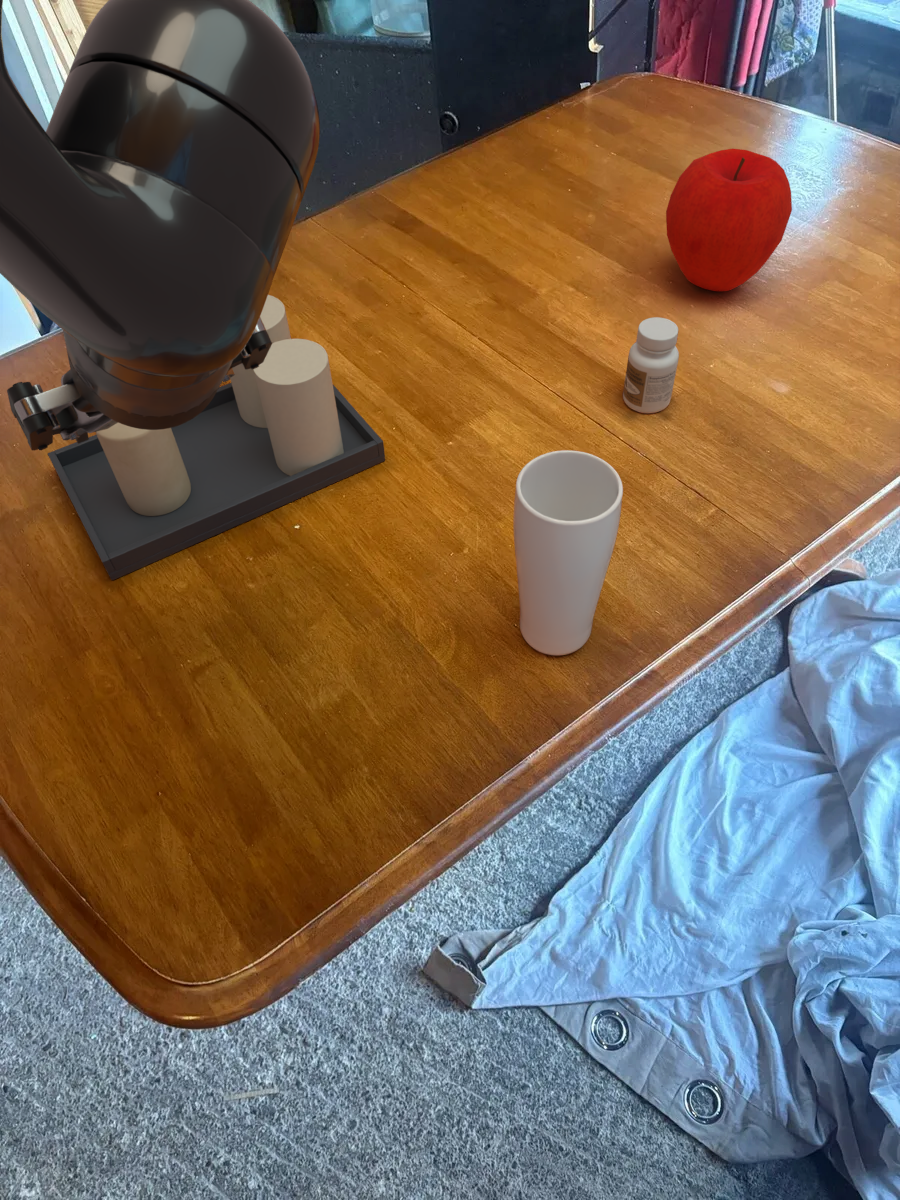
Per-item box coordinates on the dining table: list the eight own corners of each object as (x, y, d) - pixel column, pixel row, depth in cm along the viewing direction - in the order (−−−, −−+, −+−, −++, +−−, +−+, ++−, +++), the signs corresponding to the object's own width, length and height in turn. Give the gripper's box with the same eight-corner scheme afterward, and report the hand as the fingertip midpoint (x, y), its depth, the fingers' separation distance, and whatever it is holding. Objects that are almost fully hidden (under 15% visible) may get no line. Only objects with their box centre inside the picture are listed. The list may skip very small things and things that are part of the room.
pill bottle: (616, 388, 84) (626, 317, 78) (660, 381, 85) (673, 310, 79) (630, 418, 82) (642, 346, 75) (676, 410, 82) (691, 339, 76)
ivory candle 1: (255, 437, 80) (230, 342, 73) (229, 401, 84) (202, 308, 76) (315, 412, 82) (297, 318, 74) (287, 379, 86) (267, 285, 78)
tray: (111, 581, 71) (102, 562, 69) (56, 472, 79) (47, 453, 78) (385, 460, 79) (383, 441, 77) (309, 373, 87) (306, 353, 85)
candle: (114, 508, 75) (70, 415, 67) (149, 466, 78) (111, 372, 71) (170, 523, 74) (132, 430, 66) (203, 479, 77) (171, 385, 69)
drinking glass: (514, 591, 69) (519, 444, 57) (602, 598, 68) (625, 451, 57) (505, 662, 65) (509, 520, 53) (598, 671, 64) (623, 529, 53)
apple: (656, 314, 92) (678, 185, 81) (652, 252, 99) (672, 127, 88) (774, 318, 90) (812, 188, 80) (762, 256, 98) (795, 129, 87)
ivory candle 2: (293, 488, 76) (271, 394, 68) (264, 449, 79) (240, 354, 72) (355, 461, 78) (341, 366, 70) (324, 424, 81) (307, 329, 73)
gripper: (255, 211, 43) (218, 308, 58) (-45, 307, 39) (-1, 385, 54) (321, 358, 44) (267, 415, 60) (37, 467, 40) (58, 500, 55)
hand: (140, 401), depth 57 cm, fingers open, 8 cm apart
